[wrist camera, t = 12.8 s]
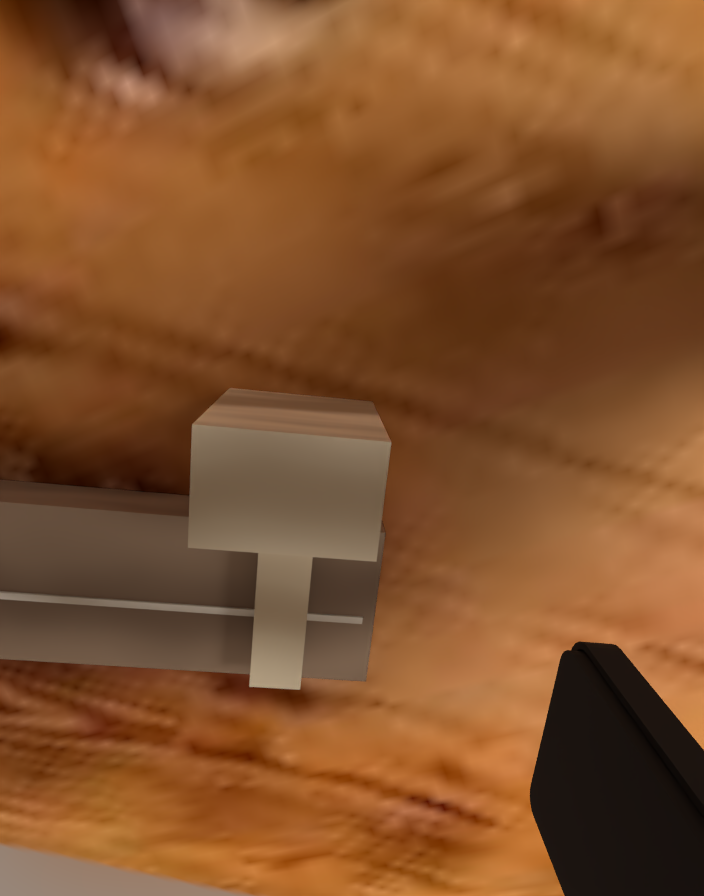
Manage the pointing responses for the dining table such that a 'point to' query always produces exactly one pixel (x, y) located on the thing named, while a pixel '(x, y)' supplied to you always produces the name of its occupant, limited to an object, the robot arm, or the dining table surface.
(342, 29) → the dining table surface
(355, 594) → the plank
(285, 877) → the dining table surface
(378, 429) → the beige t-shaped block
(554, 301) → the dining table surface
